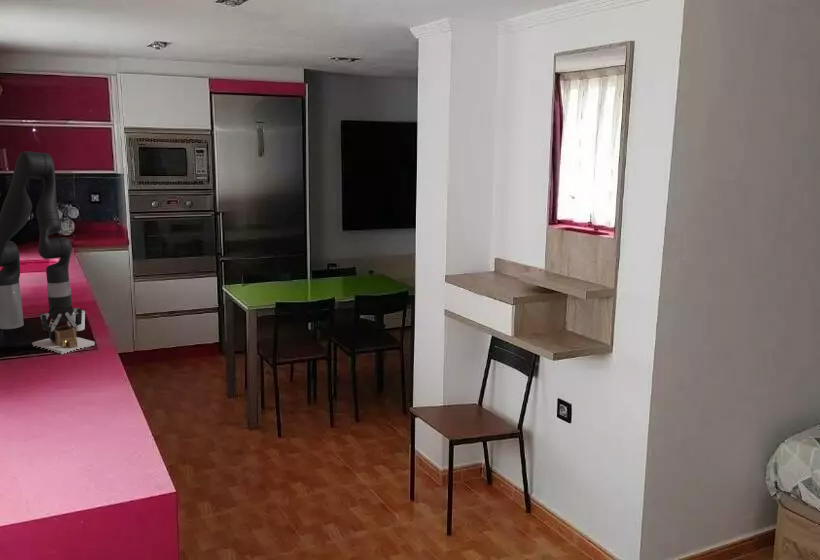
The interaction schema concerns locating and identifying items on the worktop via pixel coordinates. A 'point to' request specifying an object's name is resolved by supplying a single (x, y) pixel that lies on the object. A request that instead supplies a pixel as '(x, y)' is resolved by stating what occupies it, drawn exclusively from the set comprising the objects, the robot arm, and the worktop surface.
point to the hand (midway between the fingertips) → (63, 338)
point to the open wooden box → (65, 336)
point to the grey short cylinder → (82, 326)
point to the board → (53, 347)
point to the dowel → (64, 343)
